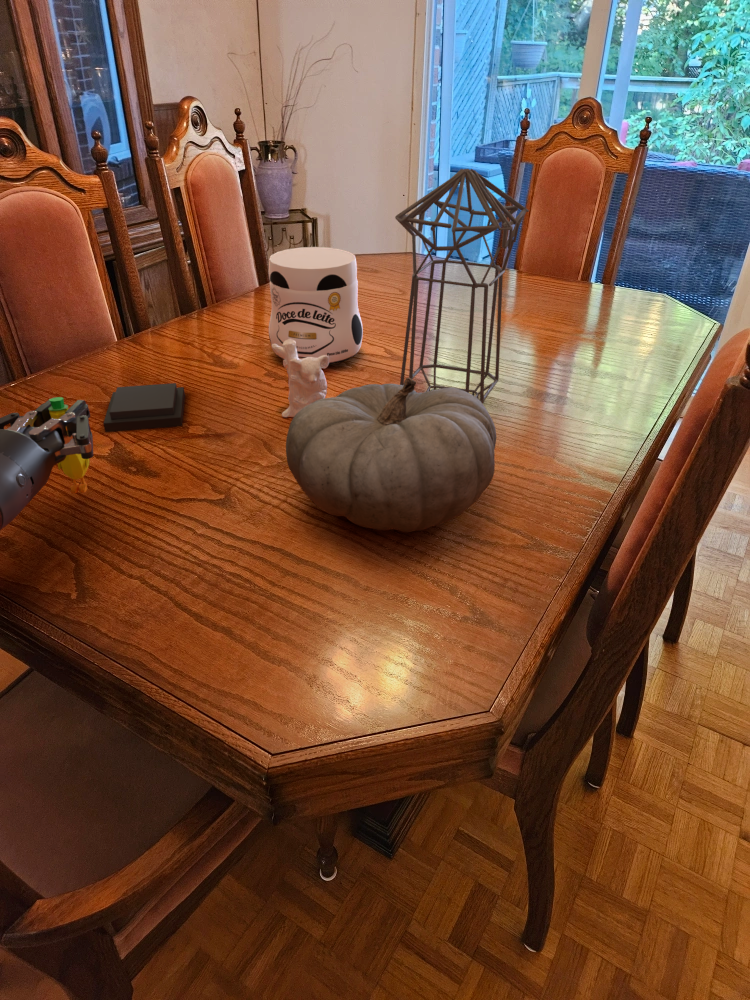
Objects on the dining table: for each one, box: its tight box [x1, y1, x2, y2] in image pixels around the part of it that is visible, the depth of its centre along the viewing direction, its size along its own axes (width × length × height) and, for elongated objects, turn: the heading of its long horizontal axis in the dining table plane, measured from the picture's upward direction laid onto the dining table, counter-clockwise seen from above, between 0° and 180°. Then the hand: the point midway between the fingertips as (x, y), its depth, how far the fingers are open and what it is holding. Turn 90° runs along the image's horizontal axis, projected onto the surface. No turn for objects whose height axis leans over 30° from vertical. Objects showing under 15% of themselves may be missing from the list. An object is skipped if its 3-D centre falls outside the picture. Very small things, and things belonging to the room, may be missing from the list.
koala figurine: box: [271, 339, 330, 418], centre depth 102 cm, size 8×7×12 cm
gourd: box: [285, 377, 497, 533], centre depth 80 cm, size 25×25×17 cm
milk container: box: [268, 246, 364, 366], centre depth 120 cm, size 17×17×18 cm
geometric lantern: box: [394, 168, 530, 404], centre depth 97 cm, size 16×16×35 cm
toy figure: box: [48, 396, 91, 495], centre depth 80 cm, size 7×4×12 cm, turn 10°
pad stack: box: [102, 382, 186, 433], centre depth 103 cm, size 11×11×4 cm
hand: (69, 406), depth 80 cm, fingers closed on toy figure, 3 cm apart
